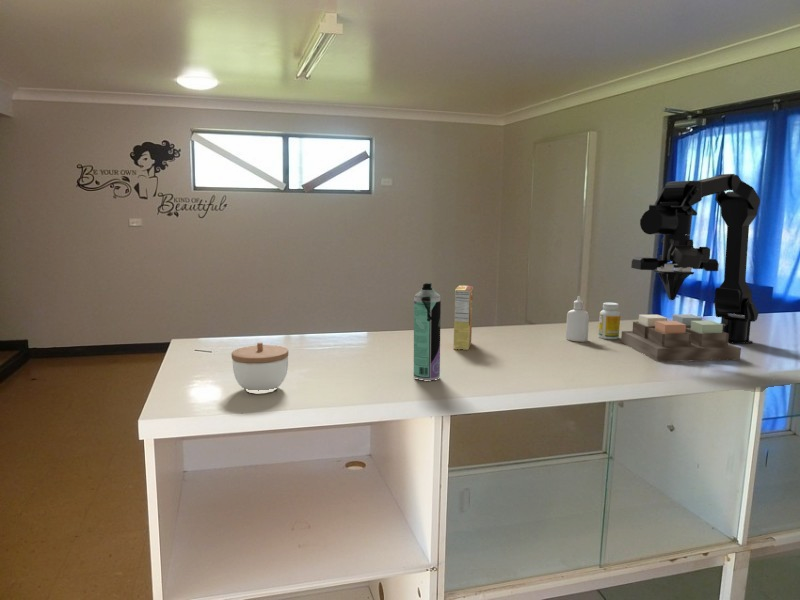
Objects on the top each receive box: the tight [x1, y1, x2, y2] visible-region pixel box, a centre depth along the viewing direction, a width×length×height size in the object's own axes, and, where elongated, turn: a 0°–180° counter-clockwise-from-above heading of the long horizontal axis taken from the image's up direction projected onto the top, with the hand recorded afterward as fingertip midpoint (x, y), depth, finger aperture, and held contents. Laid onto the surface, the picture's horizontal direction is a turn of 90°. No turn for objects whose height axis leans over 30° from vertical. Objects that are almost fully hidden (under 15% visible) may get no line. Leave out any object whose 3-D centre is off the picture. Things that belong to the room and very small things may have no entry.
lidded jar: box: [231, 341, 289, 391], centre depth 114 cm, size 11×11×9 cm
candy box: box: [453, 285, 474, 351], centre depth 151 cm, size 9×4×15 cm, turn 169°
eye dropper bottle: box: [565, 295, 590, 343], centre depth 159 cm, size 4×6×12 cm
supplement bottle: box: [598, 301, 621, 340], centre depth 162 cm, size 5×5×10 cm
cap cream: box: [638, 314, 668, 326], centre depth 151 cm, size 5×5×3 cm
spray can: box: [413, 282, 442, 380], centre depth 122 cm, size 6×6×20 cm
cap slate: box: [671, 313, 703, 326], centre depth 151 cm, size 5×5×3 cm
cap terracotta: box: [655, 320, 686, 334], centre depth 142 cm, size 5×5×3 cm
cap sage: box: [691, 320, 723, 333], centre depth 143 cm, size 5×5×3 cm
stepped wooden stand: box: [620, 320, 742, 362], centre depth 147 cm, size 20×20×6 cm
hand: (671, 299), depth 142 cm, fingers closed
